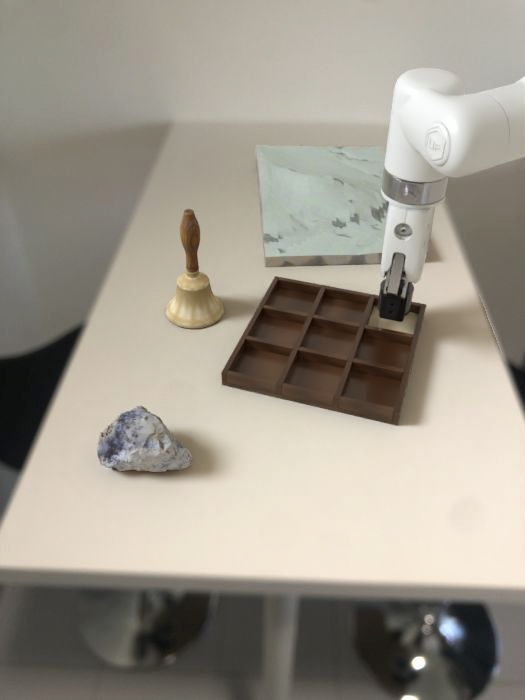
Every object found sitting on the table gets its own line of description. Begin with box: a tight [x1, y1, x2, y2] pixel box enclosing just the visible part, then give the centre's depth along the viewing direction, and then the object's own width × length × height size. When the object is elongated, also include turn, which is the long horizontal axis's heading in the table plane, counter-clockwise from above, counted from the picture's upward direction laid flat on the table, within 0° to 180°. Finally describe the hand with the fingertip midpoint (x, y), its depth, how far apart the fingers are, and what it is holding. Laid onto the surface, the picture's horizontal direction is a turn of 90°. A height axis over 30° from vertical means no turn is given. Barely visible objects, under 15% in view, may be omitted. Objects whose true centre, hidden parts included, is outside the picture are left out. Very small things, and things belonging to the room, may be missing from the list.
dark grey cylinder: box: [377, 278, 415, 316], centre depth 90 cm, size 4×4×4 cm
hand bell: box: [165, 208, 225, 330], centre depth 91 cm, size 8×8×16 cm
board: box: [220, 275, 427, 426], centre depth 89 cm, size 22×22×2 cm
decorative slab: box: [255, 143, 389, 268], centre depth 118 cm, size 38×27×5 cm
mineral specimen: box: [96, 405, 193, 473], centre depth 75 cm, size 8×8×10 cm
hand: (394, 306), depth 91 cm, fingers closed on dark grey cylinder, 4 cm apart
